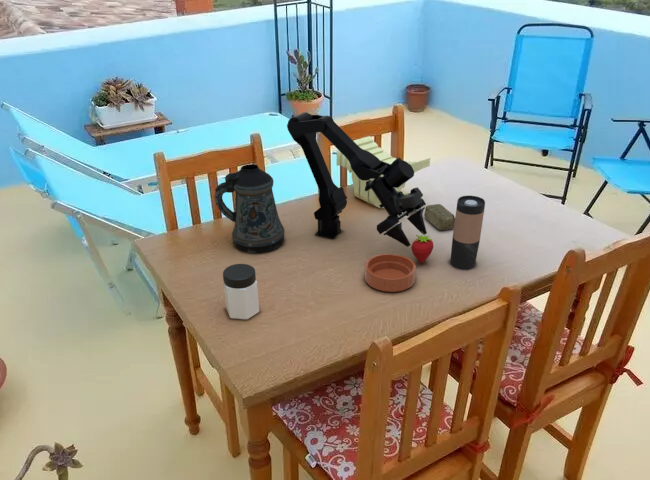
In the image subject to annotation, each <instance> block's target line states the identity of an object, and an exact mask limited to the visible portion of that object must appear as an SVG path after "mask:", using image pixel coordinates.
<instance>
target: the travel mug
mask: <svg viewBox="0 0 650 480" xmlns="http://www.w3.org/2000/svg"><path fill="white" fill-rule="evenodd" d="M456 201H457V202H456V208H455V209H456V210H455V215H454V217H455V223H454V228H453V232H452V238H451V239H452V240H451V249H450V251H451V252H450V264H451V266H452V267H454V268H456V269H460V270H471V269H473V268H474V267H475V266H476V262H477V256H478V251H479V246H480V241H481V237H482V228H483V221H484V215H485V207H486V201H485V199H484V198H482V197H479V196H476V195H462V196H460V197H458V198H457V200H456Z"/></svg>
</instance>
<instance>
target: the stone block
mask: <svg viewBox="0 0 650 480" xmlns="http://www.w3.org/2000/svg"><path fill="white" fill-rule="evenodd" d="M423 217H424V218H425V219H426V220H427V221H428V222H429V223H430V224H431V225H432V226H433V227H434V228H436V229H437V230H439V231H447V230H449V231H450V230H452V229H454V223H455V214H454V213H452V212H451V211H450V210H448V209H447V208H446V207H445V206H444V205H442V204H441V203H435V204H429V205H425V209H424V212H423Z"/></svg>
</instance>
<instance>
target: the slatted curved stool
mask: <svg viewBox="0 0 650 480" xmlns="http://www.w3.org/2000/svg"><path fill="white" fill-rule="evenodd" d="M353 141H354V142H355V143H356V144H357V145H358V146H359V147H360V148H361V149H363V150H366V151H368V152H370V153H372V154H373V155H374V156H376V157H377V158H378V159H379V160H380V161H383V162H386V163H388V164H392V163H393V161H394V160H396V159H397V158H396V157H393V156H392V155H390V154H389V153H387V152H386V151H384V149H382V148H381V147H380V146H379V145H378V143H376V141H374V139H373V138H372V137H371V136H370V135H368V136H365V137H361V138H358V139H355V140H353ZM405 161H406V160H405ZM406 162H407V163H408V164H410V165H411V166H412V168H413V170H414V174H415V173H417V172H419V171H421V170H423V169H425V168H428V167H430V165H431V157H429V158H426V159H422V160H418V161H416V160H415V161H409V160H408V161H406ZM337 166H339V167H342V168H346V170H347V171H348V173H350V174H351V181H352V187H353V195H354V197H356V198H358V199H360V200H362V201H364V202H366V203H367V204H370V205H372V206H374V207H376V208H377V209H378V208H379V209H385V208H384V207H382V208H380V206H379V205H380V204H381V202H380V201H379V199H378V198H377V196H376V195H375V193H374V192H373V190H372V189H370V190H368V191H365V187H366V182H367V181H369V180H367V181H365V180H363V181H362V180H360V179H359V178H358V177H357V175H356V174H355V173H354V171H353V170H352V168H351V165H350V162H349V161H348V159H347V158H346V157H345V156H344V155H343V154H342V153H341V152H340V151H339V150H338V149H337V151H336V167H337ZM380 176H381V177H383V174H382V175H380ZM370 180H371V181H372V180H374V179H370ZM406 183H407V182H405V183H404V184H403V185H401V186H400V187H398V188H395V189H396V190H397V192H400V191H401V192H403V194H404V195H407V194H408V193H407V192H406V191H404V190H403V189H404V188H405V187H406ZM402 190H403V191H402Z"/></svg>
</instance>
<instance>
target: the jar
mask: <svg viewBox="0 0 650 480" xmlns="http://www.w3.org/2000/svg"><path fill="white" fill-rule="evenodd" d="M256 275H257V274H256V270H255V268H254V266H252V265H250V264H247V263H235V264H231V265H229V266H227V267H225V268H224V270H223V272H222V283H223V290H224V291H223V292H224V301H225V309H226V311H227V314H228V316H229V318H230V319H234V320H235V319H236V320H249V319H250V318H252V317H253V316H255V315H257V314H258V313H260V301H259V300H260V299H259V290H258V287H259V286H258V281H257V277H256Z"/></svg>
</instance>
